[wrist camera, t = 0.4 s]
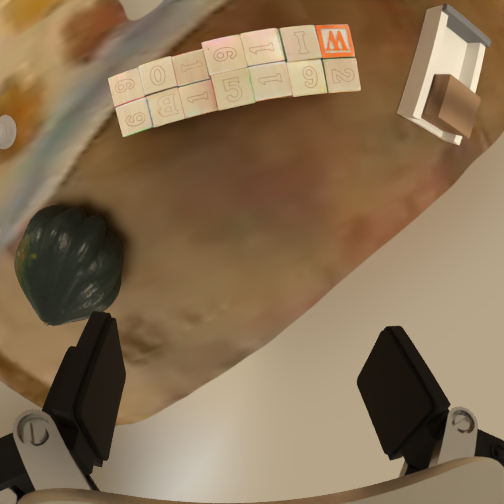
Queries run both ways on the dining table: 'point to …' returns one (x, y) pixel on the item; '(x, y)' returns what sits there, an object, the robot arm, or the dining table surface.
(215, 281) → the dining table surface
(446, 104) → the walnut block
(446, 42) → the chute
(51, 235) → the squash
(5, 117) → the chalice
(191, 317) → the dining table surface
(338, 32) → the stack of blocks
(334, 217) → the dining table surface
